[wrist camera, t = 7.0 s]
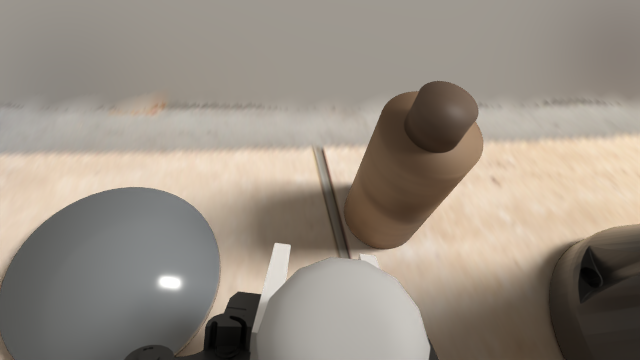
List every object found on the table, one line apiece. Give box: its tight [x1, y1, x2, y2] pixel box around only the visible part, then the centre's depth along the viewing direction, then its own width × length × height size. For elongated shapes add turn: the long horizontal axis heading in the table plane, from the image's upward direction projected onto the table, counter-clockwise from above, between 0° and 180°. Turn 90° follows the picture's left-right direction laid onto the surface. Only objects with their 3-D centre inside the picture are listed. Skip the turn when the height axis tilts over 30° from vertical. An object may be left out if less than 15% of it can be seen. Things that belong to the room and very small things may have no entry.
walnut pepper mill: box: [344, 81, 483, 249], centre depth 22 cm, size 6×6×12 cm
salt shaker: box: [256, 257, 430, 360], centre depth 14 cm, size 6×6×13 cm
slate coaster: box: [0, 187, 221, 360], centre depth 22 cm, size 12×12×1 cm
